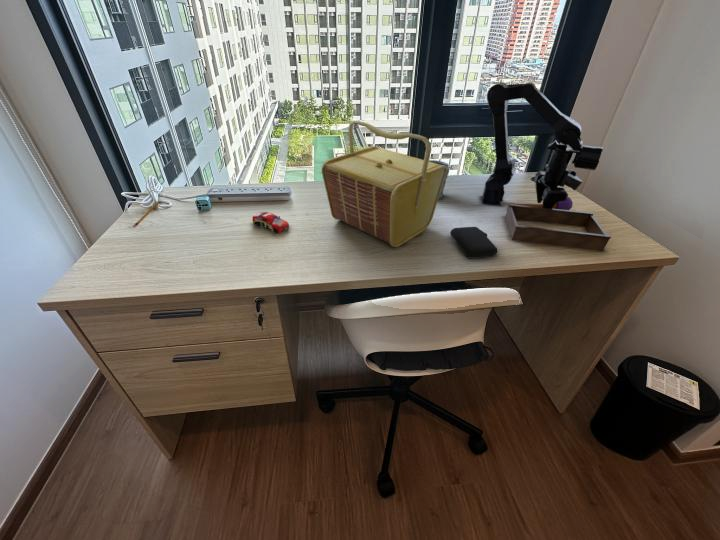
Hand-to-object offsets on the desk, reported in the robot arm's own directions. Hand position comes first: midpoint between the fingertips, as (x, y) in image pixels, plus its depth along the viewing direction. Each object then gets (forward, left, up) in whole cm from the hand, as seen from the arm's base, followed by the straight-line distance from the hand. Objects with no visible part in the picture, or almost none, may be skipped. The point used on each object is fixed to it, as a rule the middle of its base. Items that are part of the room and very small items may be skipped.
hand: (541, 208), depth 116 cm
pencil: (-132, -34, -2) cm, 136 cm away
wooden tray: (0, -15, -2) cm, 15 cm away
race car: (-88, -33, -2) cm, 93 cm away
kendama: (0, 0, -2) cm, 2 cm away
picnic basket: (-54, -23, -2) cm, 58 cm away
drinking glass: (-39, +5, -2) cm, 39 cm away
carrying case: (-25, -29, -2) cm, 38 cm away
